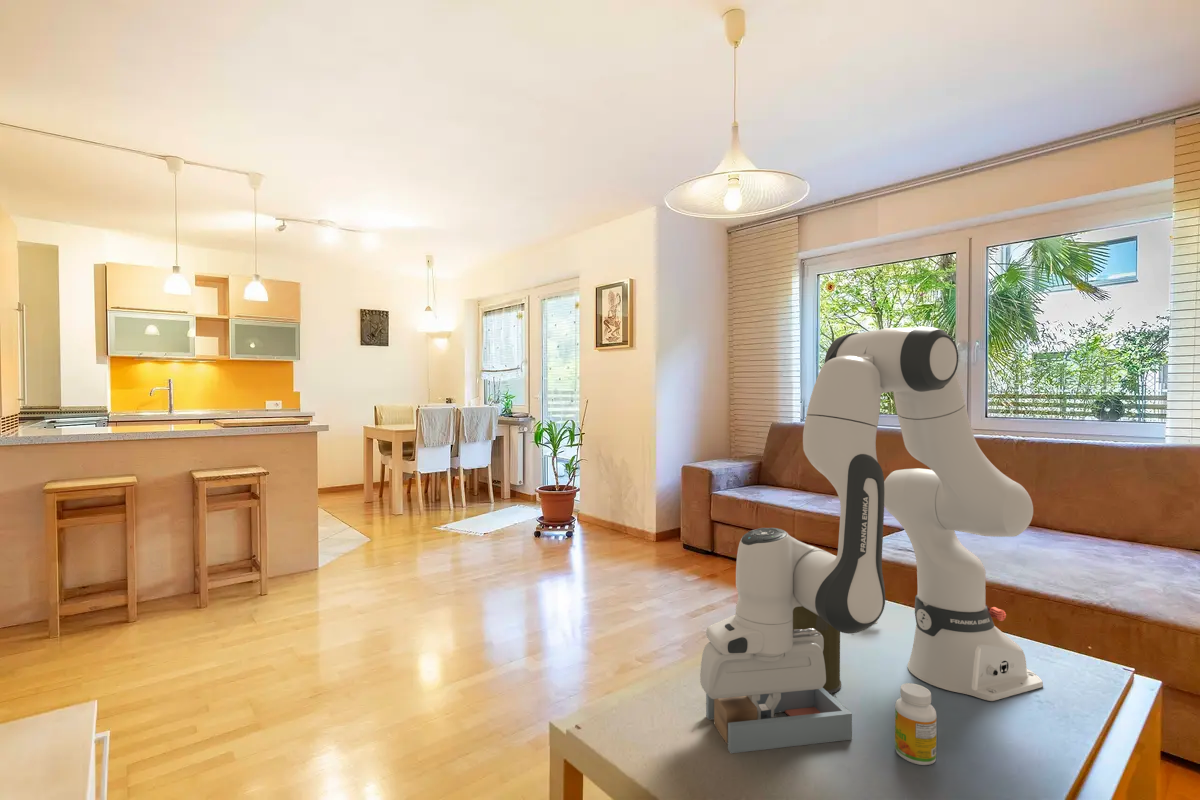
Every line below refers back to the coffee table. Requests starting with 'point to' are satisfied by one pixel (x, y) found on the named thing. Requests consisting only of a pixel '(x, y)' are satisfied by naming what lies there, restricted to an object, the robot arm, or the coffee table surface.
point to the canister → (831, 644)
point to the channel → (791, 722)
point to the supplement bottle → (915, 725)
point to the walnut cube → (732, 712)
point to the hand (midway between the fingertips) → (763, 718)
